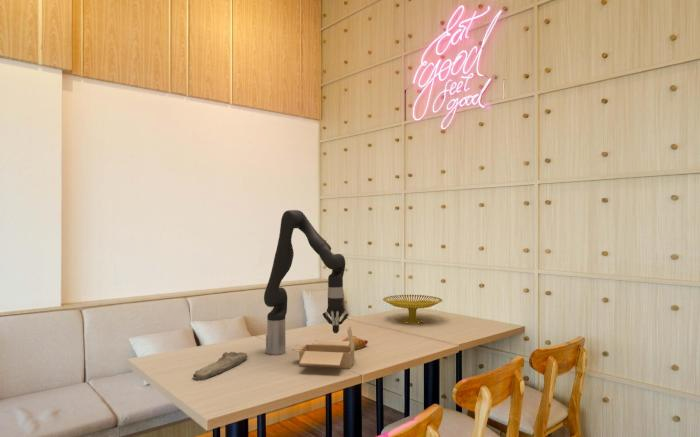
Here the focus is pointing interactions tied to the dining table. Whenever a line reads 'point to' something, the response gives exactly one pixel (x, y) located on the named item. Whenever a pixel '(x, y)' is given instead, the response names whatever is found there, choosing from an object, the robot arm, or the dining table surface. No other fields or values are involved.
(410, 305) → the yellow pedestal fruit bowl
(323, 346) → the carton
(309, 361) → the flap near
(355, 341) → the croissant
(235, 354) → the long grey stone
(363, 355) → the dining table surface
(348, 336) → the flap far
